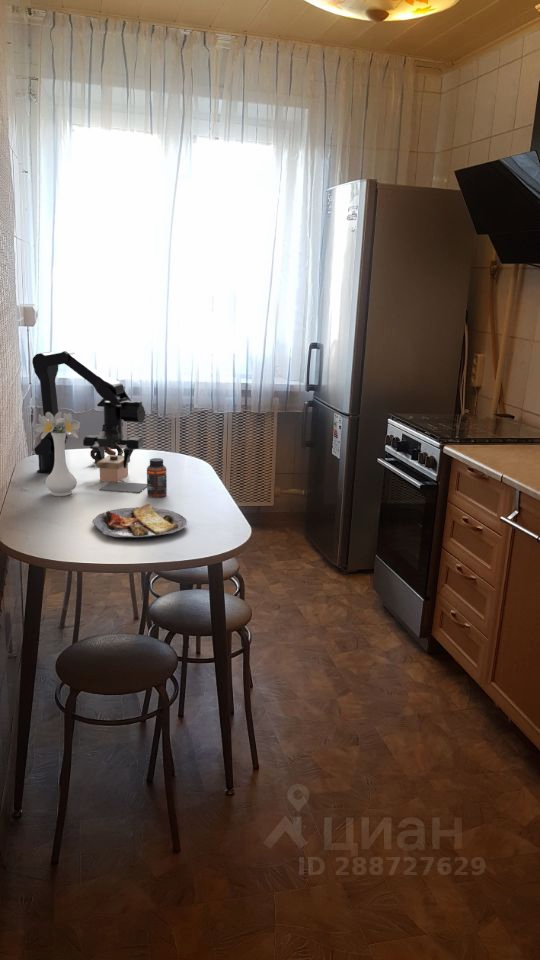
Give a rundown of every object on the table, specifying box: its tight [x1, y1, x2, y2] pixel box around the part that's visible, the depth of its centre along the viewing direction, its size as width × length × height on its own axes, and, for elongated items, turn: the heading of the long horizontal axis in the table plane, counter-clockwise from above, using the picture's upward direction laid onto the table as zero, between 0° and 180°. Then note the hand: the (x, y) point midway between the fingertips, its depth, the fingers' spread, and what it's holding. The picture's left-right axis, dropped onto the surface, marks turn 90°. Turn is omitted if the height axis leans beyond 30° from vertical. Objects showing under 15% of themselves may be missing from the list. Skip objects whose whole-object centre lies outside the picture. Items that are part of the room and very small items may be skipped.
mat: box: [98, 481, 147, 494], centre depth 242 cm, size 13×10×1 cm
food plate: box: [91, 503, 188, 539], centre depth 203 cm, size 25×23×4 cm
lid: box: [96, 454, 131, 469], centre depth 252 cm, size 7×11×3 cm, turn 171°
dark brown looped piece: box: [90, 445, 124, 464], centre depth 273 cm, size 12×9×8 cm
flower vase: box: [33, 411, 81, 497], centre depth 230 cm, size 13×18×25 cm
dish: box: [99, 463, 129, 483], centre depth 253 cm, size 6×10×4 cm, turn 171°
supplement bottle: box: [146, 457, 168, 498], centre depth 233 cm, size 6×6×11 cm
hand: (114, 467), depth 252 cm, fingers closed on lid, 7 cm apart
